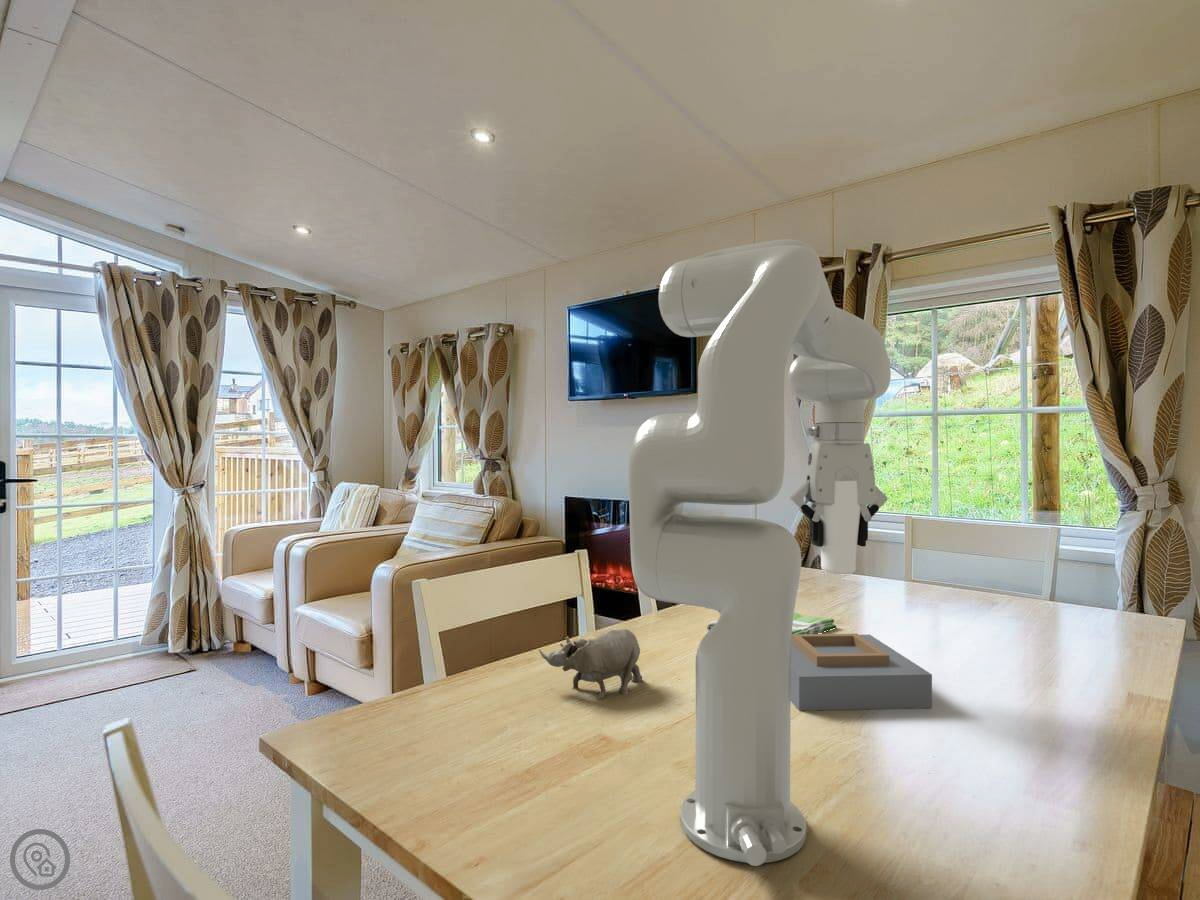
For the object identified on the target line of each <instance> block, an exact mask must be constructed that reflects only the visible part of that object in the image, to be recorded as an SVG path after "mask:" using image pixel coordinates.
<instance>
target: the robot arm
mask: <svg viewBox="0 0 1200 900" xmlns="http://www.w3.org/2000/svg"><path fill="white" fill-rule="evenodd" d="M658 308H659V311H660V316H661V318H662V320H663V322H664V323H665V324H664V325H666V327H668V329H669V330H671V332H672V333H674V334H676V335H678V336H680V337H685V338H696V337H697V338H698V337H705V336H711V337H710V338H709V340H708V342H707V344H706V346H705V348H704V350H703V352H702V353H701V356H700V360H699V363H698V367H697V369H698V370H697V380H698V382H697V409H696V410H695V412H688V413H687V412H683V413H676V412H675V413H663V414H659V415H655V416H652V417H650V418H648V419H647V420H645V421H644V422H643V423H642V424H641V425H640V426H639V428H638V429H637V431H636V432H635V435H634V437H633V441H632V443H631V447H630V451H629V459H628V502H629V504H628V505H629V538H630V540H629V541H630V543H629V545H630V546H629V548H630V563H631V564H630V565H631V571H632V575H633V576H632V577H633V579H634V582H635V585H636V586H637V588H638V590H639V591H640V593H642V594H643V595H645V596H646V597H648V598H650V599H653V600H656V601H660V602H665V603H671V604H677V605H678V604H679V605H687V606H693V607H700V608H705V609H709V610H713V611H717V612H718V613H719V618H718V619H717V620H716V621H717V623H716V624H715V625H714V626H713V627H712V628H711V629H710V630H709V631H708V630H707V632H706V634H705V635H704V636H703V637H702V639H701V640H700V642H699V644H698V647H697V650H696V655H695V778H694V779H695V783H694V784H695V785H694V786H695V790H693V791H692V792H691V793H690V794H688V795H687V796H686V797H685V799H683V801H682V804H681V806H680V814H679V815H680V817H679V819H680V824H681V825H680V826H681V828H682V830H683V831H684V834H685V835H686V836H687V837H688V839H689V840H690V841H691V842H693V843H694V844H695V845H696V846H697V847H699V848H701V849H702V850H705V851H706V852H708V853H710V854H712V855H714V856H717V857H719V858H722V859H726V860H729V861H733V862H739V863H746V864H749V865H750V866H752V867H753V866H754V867H758V866H760V865H763V864H766V863H773V862H778V861H781V860H784V859H787V858H789V857H791V856H793V855H794V854H796V853H797V852H799V851H800V849H801V848H802V847H803V846H804V844H805V842H806V839H807V822H806V818H805V816H804V813H802V811H801V810H800V809H799V807H797V805H795V804H794V803H793V802H792V801H791V701H790V700H791V640H792V625H793V617H794V612H795V607H796V602H797V596H798V590H799V583H800V578H801V573H802V572H801V570H802V569H801V568H802V554H801V548H800V545H799V542H798V540H797V539H796V537H795V536H794V534H792V532H791V531H789V530H788V529H787V528H785V527H783V526H782V525H780V524H778V523H775V522H772V521H768V520H763V519H758V518H751V517H750V518H749V517H737V516H736V517H735V516H723V515H721V516H720V515H712V516H710V515H695V514H683V510H684V504H686V503H687V504H702V505H705V504H706V505H722V506H723V505H724V506H725V505H726V506H755V505H761V504H765V503H768V502H770V501H772V500H774V499H775V498H776V497H777V496H778V494H779V493H780V491H781V489H782V486H783V482H784V473H785V371H786V364H787V361H788V356H789V353H791V354H792V355H793V354H794V355H796V356H797V357H796V358H795V359H794V360H793V362H792V363H791V364H790V367H789V369H788V373H787V383H788V386H789V388H790V390H791V392H792V394H793V395H794V396H795V397H797V398H798V399H799V400H801V401H803V402H813V403H814V423H813V425H812V427H807V428H806V436H807V437H812V438H813V440H814V443H810V448H809V452H808V455H807V456H808V457H807V462H806V469H805V470H806V471H805V482H804V483H803V484H802V485H800V487H799V488H798V489H797V490H796V491H795V492H794V493H793V494H792V495H791V496H790V501H791V502H792V503H793V504H794V505H795V507H796V508H798V509H799V511H800V512H801V513H802V514H803V515H804V516H805V517H806V519H807V520H809V540H810V541H811V545H812V546H815V547H818V548H820V547H822V546H823V522H821V516H822V513H823V511H824V508H823V507H824V505H833V504H835V481H854V480H855V481H856V482H857V497H858V499H857V504H858V505H861V510H860V521H859V531H858V541H857V546H859V547H866V546H867V541H868V539H869V522H871V520H872V518H873V517H874V516H875V515H876V513H878V512H879V510H880V508H882V506H883V505H884V504H885V503H886V502H888V496H886V494H885V493H884V492H883V491H882V490H880V488H879V487H877V485H876V476H875V475H876V474H875V467H874V459H873V455H872V449H871V445H870V443H865V401H867V400H868V401H869V400H875V399H878V398H881V397H882V396H883V395H885V393H886V392H887V390H888V389H889V386H890V383H891V376H892V375H891V374H892V373H891V363H890V359H889V354H888V351H887V347H886V344H885V342H884V339H883V336H882V335H881V333H880V332H879V330H878V329H877V328H876V327H875V326H874V325H872V324H871V323H870V322H868V321H866V320H865V319H862V318H861V317H858V316H857V315H855V314H852V313H851V312H850V311H847V310H845V309H842V308H839V307H837V306H836V304H835V301H834V299H833V296H832V293H831V290H830V287H829V285H828V281H827V278H826V275H825V273H824V270H823V267H822V262H821V259H820V257H819V255H818V254H817V252H816V251H815V249H813V247H812V246H810V245H809V244H808V243H806V242H804V241H802V240H799V239H789V238H787V239H775V240H769V241H763V242H762V241H761V242H759V243H758V242H757V243H751V244H744V245H740V246H739V245H738V246H733V247H727V248H723V249H718V250H715V251H712V252H708V253H704V254H702V255H698V256H695V257H692V258H688V259H684V260H681V261H677V262H674V264H672V265H671V266H669V268H668V269H667V270H666V272H665V273H664V275H663V277H662V279H661V282H660V284H659V289H658ZM804 498H805V499H806V501H808V502H810V503H811V505H810V506H809V505H808V504H807V503H806V502H805V500H804Z"/></svg>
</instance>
